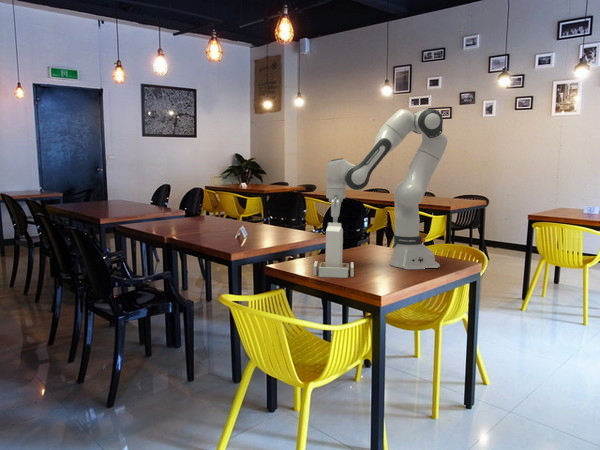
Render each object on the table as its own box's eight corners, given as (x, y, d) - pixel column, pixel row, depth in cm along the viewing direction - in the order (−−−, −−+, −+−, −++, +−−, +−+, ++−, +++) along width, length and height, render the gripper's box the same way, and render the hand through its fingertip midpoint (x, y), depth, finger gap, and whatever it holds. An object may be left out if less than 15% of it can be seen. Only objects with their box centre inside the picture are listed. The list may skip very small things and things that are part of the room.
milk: (329, 270, 217) (329, 221, 214) (342, 272, 215) (343, 222, 212) (325, 273, 211) (325, 223, 208) (338, 275, 209) (339, 223, 206)
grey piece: (353, 270, 217) (353, 262, 216) (353, 278, 205) (353, 268, 204) (314, 269, 218) (315, 260, 218) (313, 276, 206) (313, 267, 206)
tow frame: (348, 263, 231) (348, 256, 230) (348, 276, 206) (348, 268, 206) (320, 263, 232) (321, 255, 231) (317, 276, 207) (318, 267, 207)
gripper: (342, 196, 213) (342, 227, 215) (342, 192, 233) (342, 221, 235) (328, 196, 214) (327, 227, 216) (329, 192, 234) (329, 221, 236)
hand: (335, 224), depth 226 cm, fingers open, 3 cm apart
